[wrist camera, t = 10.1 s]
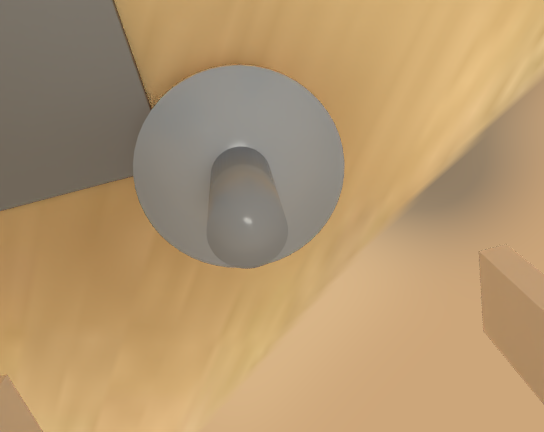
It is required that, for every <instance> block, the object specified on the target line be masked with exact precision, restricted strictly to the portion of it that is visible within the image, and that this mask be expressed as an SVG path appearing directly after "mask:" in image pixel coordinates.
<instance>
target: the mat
mask: <svg viewBox="0 0 544 432" xmlns="http://www.w3.org/2000/svg"><path fill="white" fill-rule="evenodd" d="M151 110H152V109H151V106H150V104H149V101H148V98H147V95H146V92H145V89H144V86H143V83H142V81H141V78H140V75H139V72H138V69H137V66H136V63H135V60H134V58H133V55H132V52H131V49H130V46H129V43H128V40H127V38H126V35H125V32H124V29H123V26H122V23H121V20H120V17H119V15H118V12H117V9H116V6H115V3H114V0H0V211H2V210H6V209H10V208H14V207H17V206H21V205H25V204H29V203H33V202H36V201H40V200H44V199H48V198H52V197H55V196H59V195H63V194H67V193H71V192H74V191H78V190H82V189H86V188H90V187H93V186H97V185H101V184H105V183H109V182H112V181H116V180H120V179H124V178H128V177H131V176H133V158H134V150H135V146H136V142H137V138H138V135H139V132H140V130H141V128H142V125H143V123H144V121H145V120H146V118H147V116H148V115H149V113H150V111H151Z"/></svg>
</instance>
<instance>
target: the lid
mask: <svg viewBox="0 0 544 432" xmlns="http://www.w3.org/2000/svg"><path fill="white" fill-rule="evenodd" d="M133 177H134V183H135V189H136V193H137V196H138V199H139V202H140V204H141V206H142V209H143V211H144V213H145V215H146V216H147V218H148V219H149V221H150V223H151V224H152V226H153V227H154V228H155V229H156V230H157V231H158V233H159V234H160V235H161V236H162V237H163V238H164V239H165V240H166V241H168V242H169V243H170V244H171V245H172V246H174V247H175V248H177V249H178V250H179V251H181V252H183V253H185V254H186V255H188V256H190V257H192V258H194V259H197V260H200V261H202V262H205V263H209V264H212V265H216V266H223V267H236V268H247V269H248V268H255V267H259V266H262V265H265V264H268V263H271V262H274V261H277V260H280V259H282V258H284V257H286V256H289V255H290V254H292V253H294V252H295V251H297V250H299V249H300V248H302V247H303V246H304V245H305V244H307V243H308V242H309V241H311V240H312V239H313V238H314V237H315V236H316V235H317V234H318V233H319V231H320V230H321V229H322V228H323V226H324V225H325V224H326V223H327V221H328V219H329V218H330V216H331V214H332V213H333V211H334V209H335V206H336V204H337V202H338V200H339V196H340V193H341V189H342V185H343V178H344V155H343V148H342V144H341V140H340V136H339V133H338V131H337V129H336V126H335V124H334V122H333V120H332V118H331V117H330V115H329V113H328V112H327V110H326V109H325V108H324V106H323V105H322V104H321V103H320V101H319V100H318V99H317V98H316V97H315V96H314V95H313V94H312V93H311V92H309V91H308V90H307V89H306V88H305V87H303V86H302V85H301V84H299V83H298V82H297V81H295V80H294V79H292V78H290V77H288V76H286V75H284V74H282V73H280V72H277V71H275V70H272V69H269V68H265V67H260V66H256V65H246V64H230V65H222V66H216V67H211V68H208V69H205V70H202V71H199V72H197V73H195V74H193V75H191V76H189V77H187V78H185V79H183V80H182V81H180V82H179V83H178V84H176V85H175V86H173V87H172V88H171V89H170V90H169V91H168V92H167V93H165V94H164V95H163V96H162V97H161V99H160V100H159V101H158V102H157V104H156V105H155V106H154V107H153V109H152V110H151V111H150V113H149V115H148V116H147V118H146V120H145V121H144V123H143V125H142V128H141V130H140V132H139V135H138V138H137V142H136V146H135V150H134V158H133Z"/></svg>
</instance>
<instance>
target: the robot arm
mask: <svg viewBox="0 0 544 432" xmlns="http://www.w3.org/2000/svg"><path fill="white" fill-rule="evenodd" d="M479 265H480V282H481V298H482V316H483V331H484V332H485V333H486V335H487V336H488V337H489V339H490V340H491V341H492V342H493V343H494V345H495V346H496V347H497V348H498V349H499V351H500V352H501V353H502V354H503V356H504V357H505V358H506V359H507V360H508V362H509V363H510V364H511V365H512V366H513V368H514V369H515V370H516V371H517V373H518V374H519V375H520V376H521V377H522V379H523V380H524V381H525V382H526V383H527V385H528V386H529V387H530V388H531V390H532V391H533V392H534V393H535V394H536V396H537V397H538V398H539V399H540V400H541V402H542V403H543V404H544V274H543V273H542V272H540V271H539V270H538V269H537V268H535V267H534V266H533V265H532V264H531V263H529V262H528V261H527V260H526V259H524V258H523V257H522V256H521V255H519V254H518V253H517V252H516V251H514V250H513V249H512V248H511V247H509V246H508V245H507V244H505V245H501V246H497V247H493V248H489V249H485V250H481V251H479ZM0 432H43V431H42V429H41V428H40V426H39V424H38V423H37V421H36V420H35V418H34V416H33V415H32V413H31V412H30V410H29V409H28V407H27V405H26V404H25V402H24V401H23V399H22V397H21V396H20V394H19V393H18V391H17V389H16V388H15V386H14V385H13V383H12V382H11V380H10V378H9V377H8V375H7V374H6V375H2V376H0Z"/></svg>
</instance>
